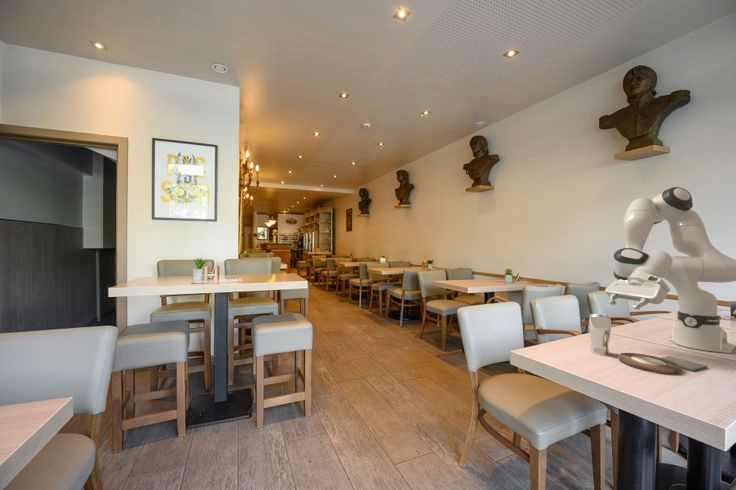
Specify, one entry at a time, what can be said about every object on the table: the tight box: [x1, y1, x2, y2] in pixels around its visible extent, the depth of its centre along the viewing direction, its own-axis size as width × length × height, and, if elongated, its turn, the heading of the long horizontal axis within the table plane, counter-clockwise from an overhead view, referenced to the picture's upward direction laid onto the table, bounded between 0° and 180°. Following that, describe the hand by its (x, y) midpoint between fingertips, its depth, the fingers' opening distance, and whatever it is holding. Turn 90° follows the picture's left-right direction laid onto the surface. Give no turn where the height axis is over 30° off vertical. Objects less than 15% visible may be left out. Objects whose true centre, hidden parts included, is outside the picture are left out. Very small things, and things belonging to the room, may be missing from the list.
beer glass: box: [588, 313, 612, 357], centre depth 117 cm, size 7×7×15 cm
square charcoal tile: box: [661, 355, 708, 373], centre depth 106 cm, size 10×10×1 cm
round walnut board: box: [618, 352, 682, 376], centre depth 105 cm, size 16×16×2 cm
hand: (622, 305), depth 120 cm, fingers open, 8 cm apart
